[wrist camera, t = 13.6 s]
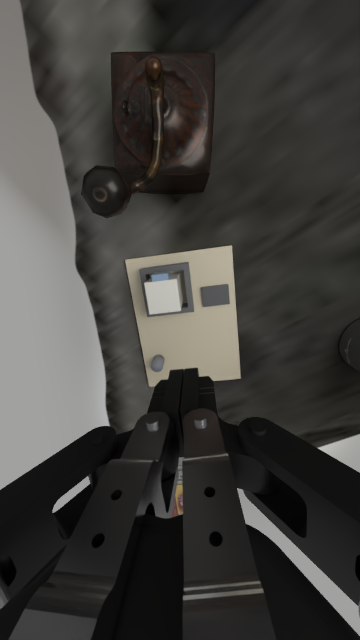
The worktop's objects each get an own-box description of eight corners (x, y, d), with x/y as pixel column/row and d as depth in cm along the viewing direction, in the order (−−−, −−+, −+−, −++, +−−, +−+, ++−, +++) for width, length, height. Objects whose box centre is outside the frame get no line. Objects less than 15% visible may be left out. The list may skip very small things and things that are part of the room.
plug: (179, 266, 36) (175, 272, 29) (183, 297, 38) (180, 311, 30) (153, 270, 37) (143, 276, 29) (157, 300, 38) (149, 314, 30)
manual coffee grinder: (125, 104, 32) (46, -66, 14) (210, 103, 31) (233, -72, 14) (130, 230, 36) (75, 215, 19) (204, 231, 36) (216, 217, 19)
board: (230, 245, 36) (235, 245, 32) (239, 375, 42) (244, 388, 38) (126, 259, 37) (119, 261, 34) (150, 383, 44) (146, 397, 40)
